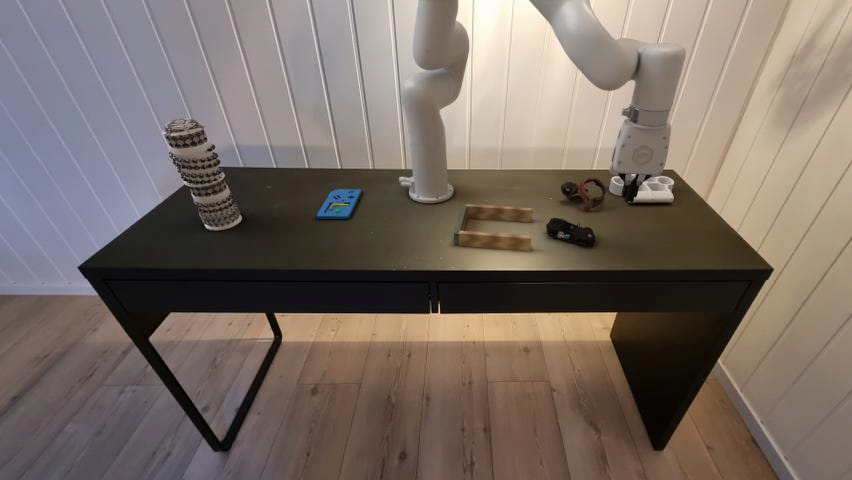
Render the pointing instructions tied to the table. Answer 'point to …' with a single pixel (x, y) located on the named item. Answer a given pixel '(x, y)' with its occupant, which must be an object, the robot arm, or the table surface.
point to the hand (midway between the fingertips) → (628, 199)
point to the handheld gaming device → (339, 204)
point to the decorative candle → (202, 173)
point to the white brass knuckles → (647, 189)
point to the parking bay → (492, 238)
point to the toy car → (570, 232)
